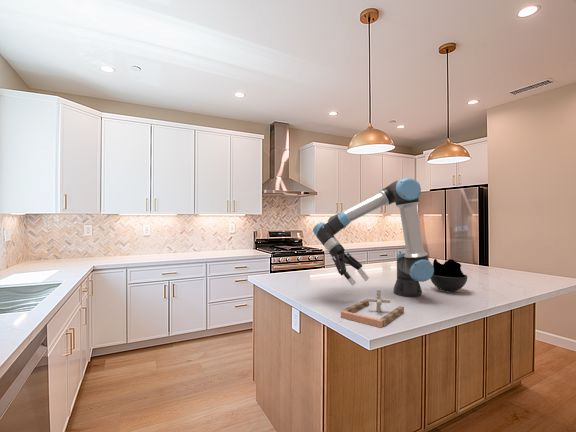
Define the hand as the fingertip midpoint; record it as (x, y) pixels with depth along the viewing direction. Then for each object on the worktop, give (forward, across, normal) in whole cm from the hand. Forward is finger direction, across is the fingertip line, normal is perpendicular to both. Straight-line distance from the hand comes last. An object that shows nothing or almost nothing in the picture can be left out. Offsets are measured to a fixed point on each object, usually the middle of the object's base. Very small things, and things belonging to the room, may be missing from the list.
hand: (361, 281), depth 142 cm
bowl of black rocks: (+26, -64, +8) cm, 69 cm away
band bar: (+15, +17, -3) cm, 23 cm away
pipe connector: (+15, -1, -3) cm, 15 cm away
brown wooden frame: (+15, +5, -3) cm, 16 cm away
